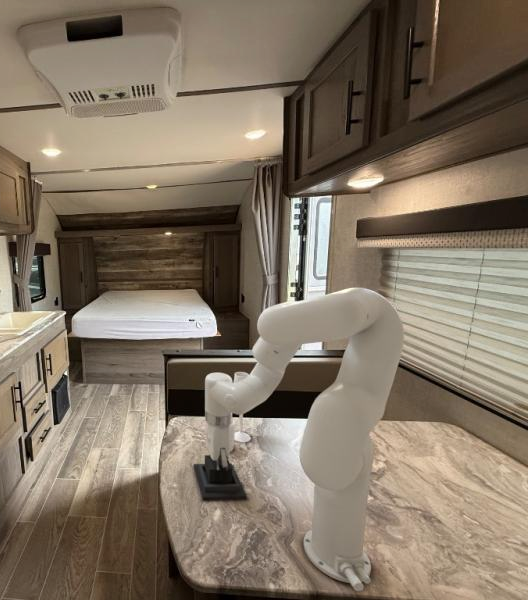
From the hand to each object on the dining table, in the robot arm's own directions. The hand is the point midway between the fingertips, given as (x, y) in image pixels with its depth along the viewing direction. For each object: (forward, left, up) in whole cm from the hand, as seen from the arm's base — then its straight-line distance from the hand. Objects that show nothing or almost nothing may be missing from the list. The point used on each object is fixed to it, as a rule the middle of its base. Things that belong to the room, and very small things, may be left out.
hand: (217, 472), depth 97 cm
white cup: (+17, -6, -3) cm, 18 cm away
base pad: (0, 0, -3) cm, 3 cm away
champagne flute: (+23, -14, -3) cm, 27 cm away
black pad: (0, 0, -1) cm, 1 cm away
